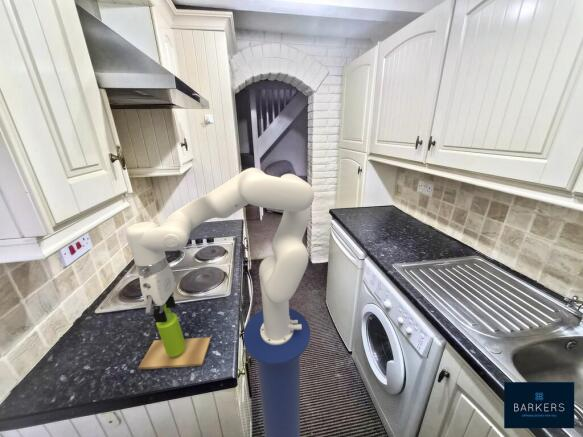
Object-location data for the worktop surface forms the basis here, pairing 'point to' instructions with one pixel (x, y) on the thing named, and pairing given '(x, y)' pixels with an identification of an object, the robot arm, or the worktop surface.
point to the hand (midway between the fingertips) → (166, 313)
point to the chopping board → (188, 357)
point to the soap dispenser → (171, 334)
